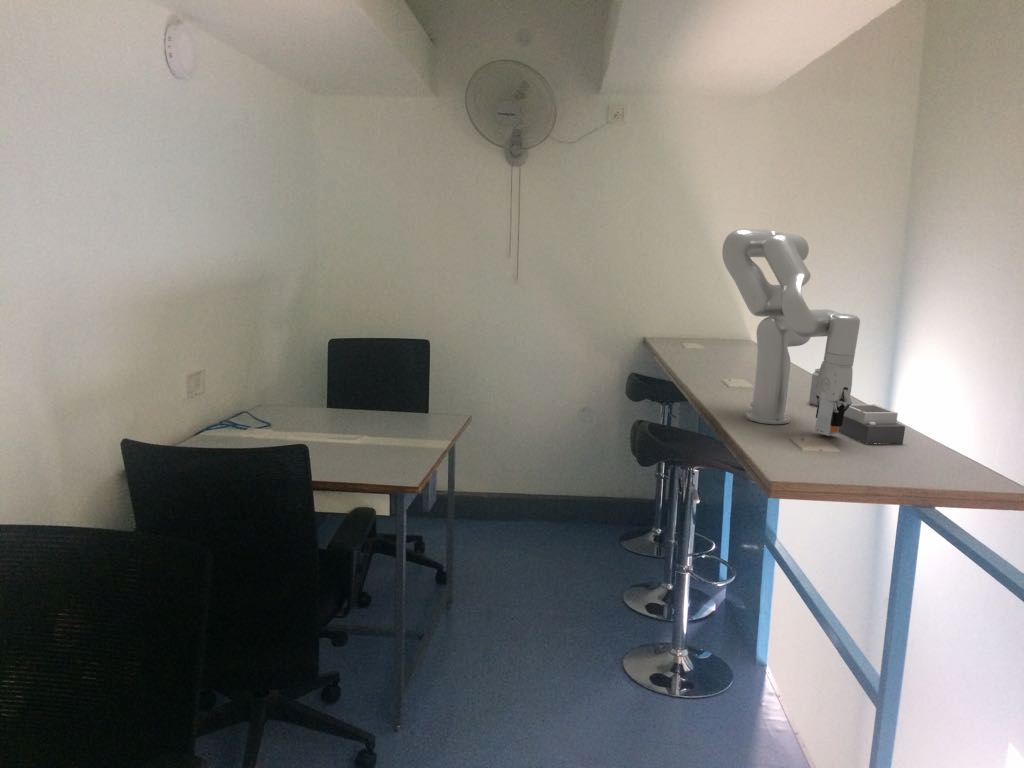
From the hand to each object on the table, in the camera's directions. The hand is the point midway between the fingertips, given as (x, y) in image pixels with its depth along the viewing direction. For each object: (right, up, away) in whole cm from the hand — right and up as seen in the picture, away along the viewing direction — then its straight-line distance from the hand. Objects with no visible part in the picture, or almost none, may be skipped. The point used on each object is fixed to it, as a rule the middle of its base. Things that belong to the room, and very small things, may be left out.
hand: (828, 421), depth 209 cm
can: (+15, +3, +40) cm, 43 cm away
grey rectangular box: (+12, -4, +3) cm, 13 cm away
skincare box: (0, -3, +1) cm, 3 cm away
